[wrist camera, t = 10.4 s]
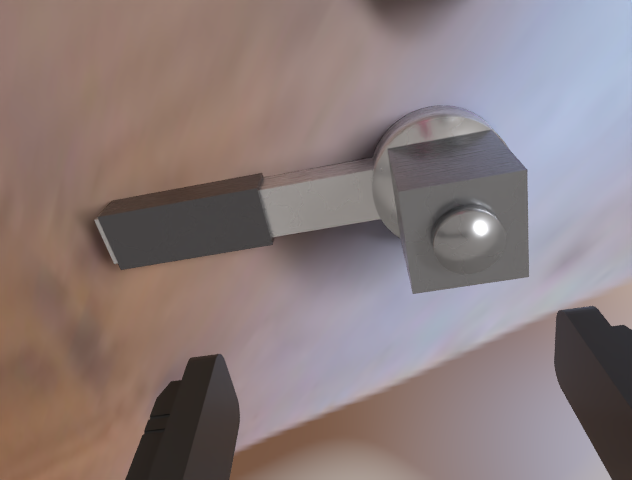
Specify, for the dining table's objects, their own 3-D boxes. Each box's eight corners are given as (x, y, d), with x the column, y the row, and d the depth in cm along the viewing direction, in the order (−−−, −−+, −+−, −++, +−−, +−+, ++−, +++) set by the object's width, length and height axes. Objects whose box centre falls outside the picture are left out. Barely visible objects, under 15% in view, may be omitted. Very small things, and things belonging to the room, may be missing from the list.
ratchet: (138, 277, 36) (104, 332, 31) (92, 172, 33) (44, 213, 27) (505, 218, 33) (537, 267, 28) (500, 92, 29) (535, 122, 24)
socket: (400, 236, 31) (414, 303, 25) (387, 148, 29) (400, 199, 23) (495, 221, 30) (534, 286, 24) (491, 129, 28) (533, 176, 22)
